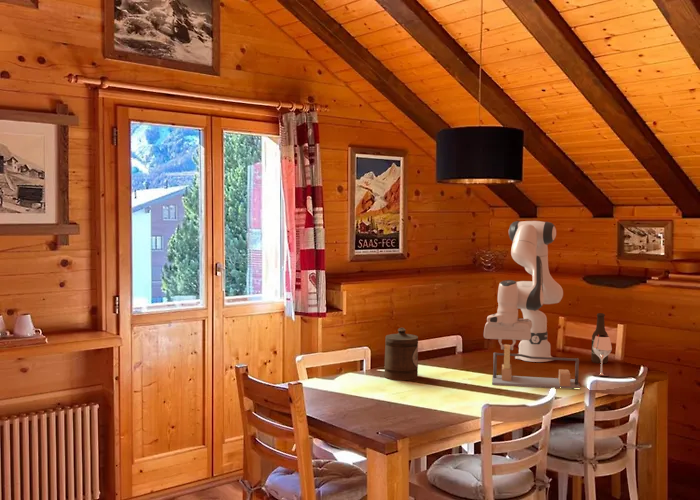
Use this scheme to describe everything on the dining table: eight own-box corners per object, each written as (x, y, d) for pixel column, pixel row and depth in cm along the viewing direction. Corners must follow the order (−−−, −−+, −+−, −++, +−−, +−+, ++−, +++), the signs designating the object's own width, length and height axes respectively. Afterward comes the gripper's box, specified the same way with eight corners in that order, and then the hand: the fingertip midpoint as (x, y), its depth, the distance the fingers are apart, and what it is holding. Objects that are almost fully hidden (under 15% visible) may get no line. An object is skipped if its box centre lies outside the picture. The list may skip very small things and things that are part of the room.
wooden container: (422, 379, 312) (423, 329, 311) (391, 381, 308) (391, 331, 307) (410, 371, 327) (411, 324, 325) (380, 373, 322) (380, 325, 321)
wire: (495, 354, 312) (495, 352, 312) (576, 358, 305) (576, 356, 304) (495, 357, 307) (495, 355, 307) (577, 360, 300) (577, 359, 300)
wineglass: (590, 376, 319) (591, 336, 318) (593, 372, 326) (594, 333, 325) (609, 378, 315) (610, 338, 314) (612, 374, 322) (613, 335, 321)
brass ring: (503, 364, 315) (504, 344, 314) (509, 364, 314) (509, 344, 313) (503, 368, 307) (504, 347, 306) (509, 368, 306) (510, 348, 306)
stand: (492, 377, 317) (493, 350, 316) (576, 381, 309) (577, 354, 309) (492, 384, 303) (492, 357, 302) (580, 389, 296) (580, 361, 295)
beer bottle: (587, 361, 350) (589, 312, 349) (599, 359, 353) (601, 312, 352) (599, 364, 343) (600, 315, 342) (611, 363, 346) (612, 314, 345)
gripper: (531, 317, 310) (531, 349, 311) (484, 316, 314) (483, 346, 315) (532, 320, 304) (531, 351, 305) (483, 318, 308) (483, 349, 309)
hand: (507, 349), depth 310 cm, fingers closed on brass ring, 2 cm apart
